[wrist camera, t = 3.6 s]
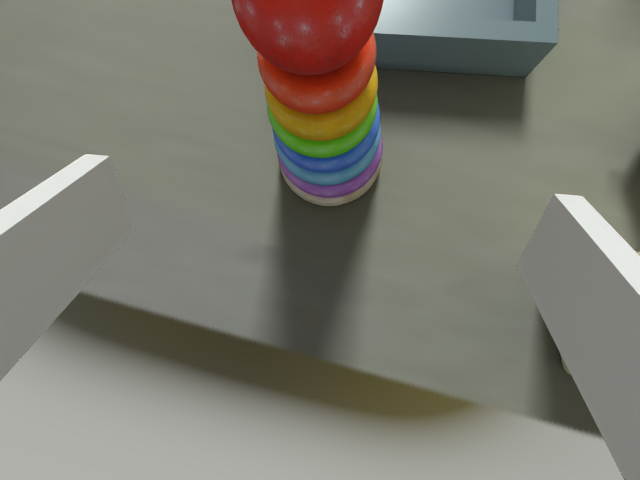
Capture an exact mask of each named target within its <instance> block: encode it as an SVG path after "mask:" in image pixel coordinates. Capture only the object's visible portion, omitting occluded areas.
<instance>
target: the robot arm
mask: <svg viewBox="0 0 640 480" xmlns="http://www.w3.org/2000/svg"><path fill="white" fill-rule="evenodd" d="M135 229H136V228H135V225H134V222H133V220H132V217H131V214H130V211H129V209H128V206H127V203H126V200H125V198H124V195H123V192H122V189H121V187H120V184H119V181H118V178H117V176H116V173H115V170H114V167H113V165H112V162H111V159H110V156H102V155H90V154H85V155H83V156H82V157H80V158H79V159H77V160H76V161H74V162H73V163H71V164H70V165H68V166H67V167H65V168H63V169H62V170H60V171H59V172H57V173H56V174H54V175H53V176H51V177H50V178H48V179H47V180H45V181H44V182H42V183H41V184H39V185H38V186H36V187H34V188H33V189H31V190H30V191H28V192H27V193H25V194H24V195H22V196H21V197H19V198H18V199H16V200H15V201H13V202H12V203H10V204H9V205H7V206H5V207H4V208H2V209H1V210H0V381H1V379H2V378H3V377H4V376H5V375H6V374H7V373H8V372H9V371H10V370H11V368H12V367H13V366H14V365H15V364H16V363H17V362H18V361H19V359H20V358H21V357H22V356H23V355H24V354H25V353H26V352H27V350H28V349H29V348H30V347H31V346H32V345H33V344H34V342H35V341H36V340H37V339H38V338H39V337H40V336H41V335H42V334H43V332H44V331H45V330H46V329H47V328H48V327H49V326H50V324H51V323H52V322H53V321H54V320H55V319H56V318H57V317H58V316H59V314H60V313H61V312H62V311H63V310H64V309H65V308H66V307H67V306H68V304H69V303H70V302H71V301H72V300H73V299H74V298H75V297H76V295H77V294H78V293H79V292H80V291H81V290H82V289H83V288H84V286H85V285H86V284H87V283H88V282H89V281H90V280H91V279H92V277H93V276H94V275H95V274H96V273H97V272H98V271H99V270H100V269H101V267H102V266H103V265H104V264H105V263H106V262H107V261H108V260H109V258H110V257H111V256H112V255H113V254H114V253H115V252H116V251H117V249H118V248H119V247H120V246H121V245H122V244H123V243H124V242H125V240H126V239H127V238H128V237H129V236H130V235H131V234H132V233H133V231H134V230H135ZM516 267H517V269H518V271H519V273H520V275H521V277H522V279H523V281H524V283H525V285H526V286H527V288H528V290H529V292H530V294H531V296H532V298H533V300H534V302H535V304H536V306H537V308H538V310H539V312H540V314H541V316H542V318H543V320H544V322H545V324H546V326H547V328H548V330H549V332H550V334H551V336H552V338H553V340H554V342H555V344H556V346H557V348H558V350H559V352H560V354H561V356H562V358H563V360H564V361H565V363H566V365H567V367H568V369H569V371H570V373H571V375H572V377H573V379H574V381H575V383H576V385H577V387H578V389H579V391H580V393H581V395H582V397H583V399H584V401H585V403H586V405H587V407H588V409H589V411H590V413H591V415H592V417H593V419H594V421H595V423H596V425H597V427H598V429H599V431H600V433H601V435H602V436H603V438H604V440H605V442H606V444H607V446H608V448H609V450H610V452H611V454H612V456H613V458H614V460H615V462H616V464H617V466H618V468H619V470H620V472H621V474H622V476H623V478H624V480H640V256H639V255H638V254H637V253H636V252H635V251H634V250H633V249H632V248H631V247H630V246H629V244H628V243H627V242H626V241H625V240H624V239H623V238H622V237H621V236H620V235H619V234H618V233H617V232H616V231H615V230H614V229H613V228H612V227H611V226H610V225H609V224H608V222H607V221H606V220H605V219H604V218H603V217H602V216H601V215H600V214H599V213H598V212H597V211H596V210H595V209H594V208H593V207H592V206H591V205H590V204H589V203H588V202H587V201H586V199H585V198H584V197H583V196H575V195H563V194H554V195H553V197H552V199H551V201H550V202H549V204H548V206H547V208H546V210H545V212H544V214H543V216H542V217H541V219H540V221H539V223H538V225H537V227H536V229H535V231H534V233H533V234H532V236H531V238H530V240H529V242H528V244H527V246H526V248H525V250H524V251H523V253H522V255H521V257H520V259H519V261H518V263H517V265H516Z"/></svg>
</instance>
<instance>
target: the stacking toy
mask: <svg viewBox="0 0 640 480" xmlns="http://www.w3.org/2000/svg"><path fill="white" fill-rule="evenodd" d="M383 1H384V0H232V4H233V9H234V12H235V14H236V17H237V20H238V22H239V25H240V27H241V29H242V31H243V32H244V34H245V36H246V37H247V38H248V40H249V41H250V43H251V45H252V46H253V47H254V48H255V49H256V50H257V51H258V52H257V59H258V66H259V71H260V74H261V77H262V79H263V81H264V83H265V94H266V99H267V109H268V116H269V119H270V122H271V125H272V128H273V133H274V142H275V147H276V150H277V154H278V159H279V165H280V169H281V172H282V175H283V177H284V179H285V181H286V183H287V184H288V185H289V187H290V188H291V189H292V190H293V191H294V192H295V193H296V194H297V195H298V196H300V197H301V198H303V199H304V200H306V201H308V202H311V203H313V204H317V205H322V206H337V205H342V204H345V203H348V202H351V201H353V200H355V199H357V198H359V197H360V196H362V195H363V194H364V193H365V192H366V191H367V190H368V189H369V188H370V187H371V186H372V184H373V183H374V181H375V180H376V178H377V176H378V173H379V171H380V167H381V162H382V148H383V144H382V135H381V126H380V109H379V104H378V97H377V89H378V75H377V69H376V65H375V63H376V54H377V52H376V40H375V36H374V33H373V32H374V30H375V28H376V26H377V23H378V20H379V17H380V13H381V10H382V6H383Z"/></svg>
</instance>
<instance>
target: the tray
mask: <svg viewBox="0 0 640 480" xmlns="http://www.w3.org/2000/svg"><path fill="white" fill-rule="evenodd" d="M558 8H559V0H384V1H383V6H382V10H381V13H380V17H379V20H378V23H377V26H376V28H375V30H374V32H373V33H374V36H375V40H376V52H377V54H376V63H375V65H376V68H381V69H397V70H414V71H431V72H447V73H464V74H481V75H497V76H514V77H527V75H528V74H529V73H530V72H531V71H532V70H533V69H534V68H535V67H536V66H537V65H538V64H539V63H540V62H541V61H542V59H543V58H544V57H545V56H546V55H547V54H548V53H549V52H550V51H551V50H552V49H553V48H554V47H555V46H556V44H557V43H558Z"/></svg>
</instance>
